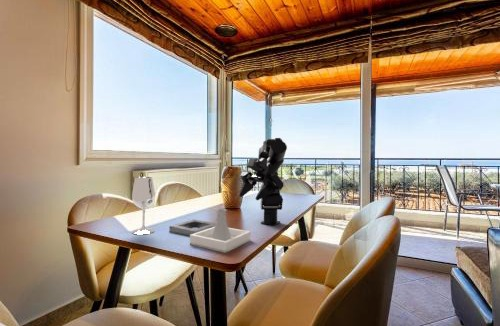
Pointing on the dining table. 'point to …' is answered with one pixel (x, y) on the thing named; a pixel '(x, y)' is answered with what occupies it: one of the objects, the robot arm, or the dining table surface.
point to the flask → (221, 227)
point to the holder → (185, 226)
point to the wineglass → (143, 199)
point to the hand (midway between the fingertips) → (247, 197)
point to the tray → (207, 242)
